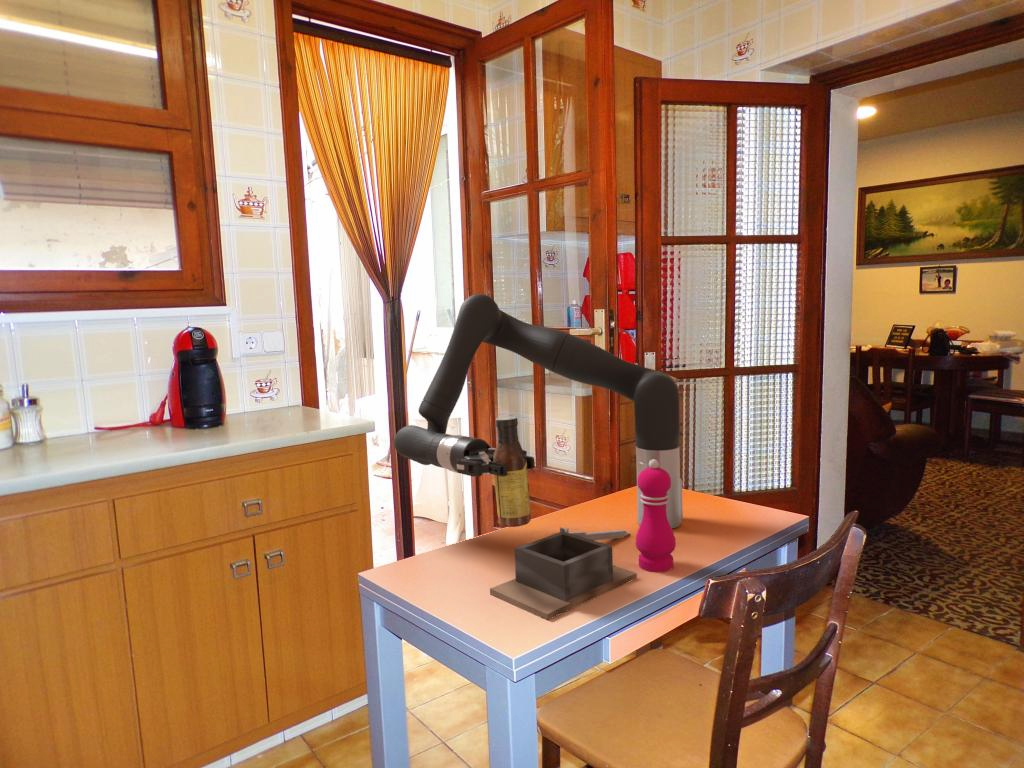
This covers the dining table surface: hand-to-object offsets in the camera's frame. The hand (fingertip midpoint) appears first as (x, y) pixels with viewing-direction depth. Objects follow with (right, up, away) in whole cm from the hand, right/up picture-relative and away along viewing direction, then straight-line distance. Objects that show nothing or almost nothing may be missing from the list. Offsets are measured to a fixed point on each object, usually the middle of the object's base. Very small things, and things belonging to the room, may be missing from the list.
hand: (519, 466), depth 123 cm
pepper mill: (+25, -19, +2) cm, 31 cm away
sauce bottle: (-1, -11, +3) cm, 11 cm away
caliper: (+15, -18, +13) cm, 27 cm away
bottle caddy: (+8, -20, -6) cm, 22 cm away
